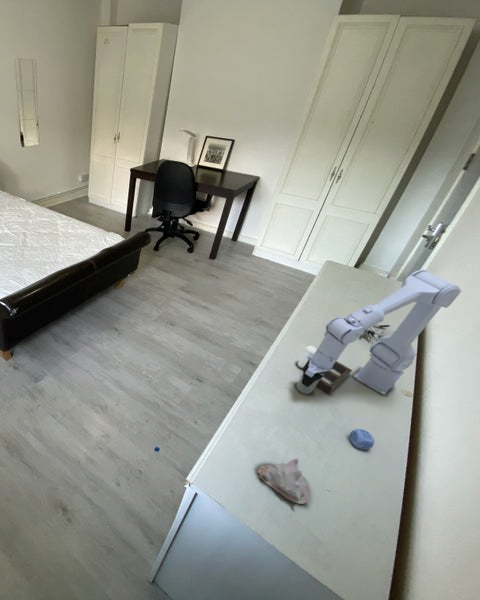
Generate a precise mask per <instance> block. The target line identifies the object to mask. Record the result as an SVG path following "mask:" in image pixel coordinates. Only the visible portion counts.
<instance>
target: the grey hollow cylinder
mask: <svg viewBox="0 0 480 600" xmlns="http://www.w3.org/2000/svg"><path fill="white" fill-rule="evenodd" d="M319 374H320V375H322V376H323V375H324V374H325V372H320V373H319ZM302 379H303V375H302V376H301V377H300V379H299V380H298V382H297V384H296V389H297V390H298V391H299V392H300V393H302V394H304V395H310V394H312V392H313V391H314V389H315V388H316V387H317V386H316V385H317V384H318V382H319V381H320V379H319V380H316V381H315V382H313V383H312V384H311V385H310V386H309V387H306V386H305V385H303V384H302Z"/></svg>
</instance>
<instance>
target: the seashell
mask: <svg viewBox="0 0 480 600" xmlns="http://www.w3.org/2000/svg"><path fill="white" fill-rule="evenodd" d="M257 474H258V477H259V479H261V480H262V481H263V482H264V483H265V484H266V485H268V486H269V487H271V488H272V489H273V490H275V491H276V492H277V493H279V494H280V495H281V496H282V497H284V498H285V499H287V500H288V501H290V502H293V503H296V504H299V505H305V504H307V503H308V501H309V499H310V486H309V482H308V480H307V479H306V477H305V476H304V475H303V471H302V470H301V469H300V468H299V458H296V457H295V458H294V459H292V460H290V461H288V463H287V462H286V463H285V462H281V464H277V463H274V465H273V464H265V465H262V466H259V468H258V469H257Z"/></svg>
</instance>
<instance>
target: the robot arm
mask: <svg viewBox="0 0 480 600" xmlns="http://www.w3.org/2000/svg"><path fill="white" fill-rule="evenodd" d="M461 293H462V290H461V288H460V286H458V285H457V284H453V283H451V282H449V281H448V280H445V279H443V278H441V277H439V276H437V275H434V274H432V273H430V272H428V270H426V269H418V270H416V271H413V272H411V273H410V274H409V275H408V276H406V278H405V279H404V280H403V281H402V284H401V287H400V288H398V289H397V290H396V291H394V292H392V293H391V294H390V295H388V296H386V297H385V298H383V299H382V300H380V301H379V302H378V303H376V304H374V305H373V304H366V305H364V306H362V307H360V308H359V309H357V310H355V311H353V312H351V313H350V314H347V315H346V316H344V317H336V318H333V319H332V320H331V321H329V322H328V323H327V324H326V325H325V331H324V334H323V335H324V337H323V339H322V341H321V342H320V344H319V345H318V347H317V350H316V352H315V353H314V355H312V354H309V355H308V356H307V358H308V359H310V362H309V366H308V365H305V366H304V367H303V369H302V373H303V374H302V376H303V379H302V384H303V385H305V386H306V387H309V386H310V385H311V384H312V383H313V382H315V381H316V380H319V379H323V378H325V377H324V376H322V375H320V374H319V373H320V372H327V371H332V370H334V369H333V365H334V363H335V362H336V361H337V362H338V359H339V358H340V356H341V355H342V354H343V352H344V351H345V349H346V348H347V347H348V345H349V344H351V343H354V342H356V341H357V340H358V339H360V337H361V336H364V335H363V334H364V331H365V330H367V329H369V328H371V329H372V327H375V326H377V324H378V325H379V324H380V323H382V322H383V321H384V320H385V315H388V314H391V313H393V312H394V311H397V310H399V309H401V308H403V307H406V306H409V305H410V304H413V303H415V304H414V305H413V307H412V308H411V310H410V311H409V312H408V313H407V315H406V316H405V318H404V319H403V320H402V321H401V323H400V324H399V325H398V326H397V328H396V330H394V331H395V332H394V333H393V335H392V336H384V337H379V338H378V339H376V341H374V343H372V345H371V346H370V347H369V353H370V354H369V359H368V361H367V362H366V363H365V365H364V366H363V367H361V368H360V369H359V371H357V372H356V373H355V374H354V375H353V378H354V379H355V380H357V381H359V382H360V383H362V384H364V385H366V386H368V387H369V388H371V389H372V390H374V391H376V392H378V393H380V394H381V395H383V396H384V395H386V394H387V393H388V391H389V390H392V389H393V388H394V387H395V386H396V383H397V381H398V380H399V379H400V378H401V377H402V376H403V375H404V373H405V371H404V370H407V369H408V368H409V367H410V366H411V365H413V361H414V359H415V357H416V356H417V353H416V351H415V349H414V347H413V346H412V345H413V344H412V343H413V342H414V341H415V340H416V339H417V337H419V335H420V334H421V333H422V331H423V330H424V329H425V328H426V327H427V326H428V325H429V323H430V322H431V321H432V319H433V318H434V317H435V316H436V314H437V313H438V312H440V310H441V308H445V309H447V308H449V307H450V306H451V305H452V304H453V303H454V301H455V300H456V299H457V298H458V296H459V295H460V294H461ZM374 325H375V326H374Z"/></svg>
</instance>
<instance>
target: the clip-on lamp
mask: <svg viewBox="0 0 480 600" xmlns="http://www.w3.org/2000/svg"><path fill="white" fill-rule="evenodd" d="M373 327H375V328H374V329H372V327H371V328H369V329H367V330H365V331H364V334H363V335H362V336H364V335H365V336H368V337H370V338H371V339H372V340H373V341H374V342H376V341H377V337H376V336H375V335H377V336H379V338H381V337H384V336H392V335H393V333H394V332H395V331H396V330H394V329H392V328H390V327H391V324H381V325H380V324H379V323H378V324H376V325H374V326H373ZM382 328H385V329H382ZM381 329H382V330H381ZM380 330H381V331H380ZM379 331H380V332H379Z"/></svg>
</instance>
